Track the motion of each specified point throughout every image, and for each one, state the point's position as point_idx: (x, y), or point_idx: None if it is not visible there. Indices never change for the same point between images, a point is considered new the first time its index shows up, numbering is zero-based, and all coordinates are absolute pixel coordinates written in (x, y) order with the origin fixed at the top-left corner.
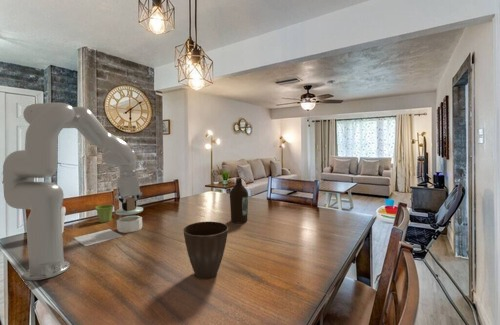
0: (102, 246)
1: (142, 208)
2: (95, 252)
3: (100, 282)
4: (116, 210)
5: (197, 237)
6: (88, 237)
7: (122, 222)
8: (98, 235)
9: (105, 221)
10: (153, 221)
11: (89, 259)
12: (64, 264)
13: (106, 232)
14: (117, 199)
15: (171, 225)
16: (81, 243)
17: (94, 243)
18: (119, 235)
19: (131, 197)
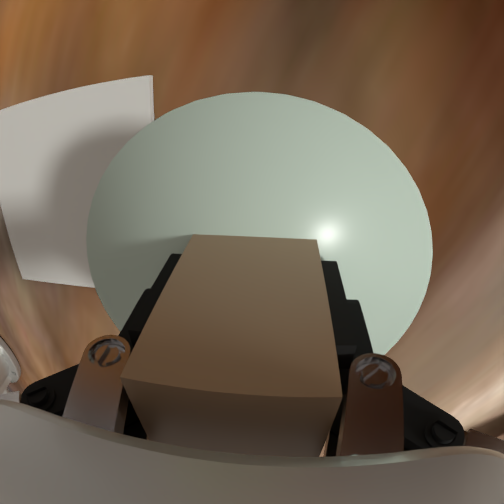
0: (77, 317)
1: (384, 347)
2: (59, 343)
3: None
4: (106, 181)
5: None
6: (26, 166)
7: None
8: (65, 171)
9: None
10: (483, 149)
11: (52, 368)
12: (9, 365)
13: (110, 145)
14: (19, 397)
15: (459, 315)
16: (8, 232)
17: (47, 279)
18: None
19: (320, 424)
